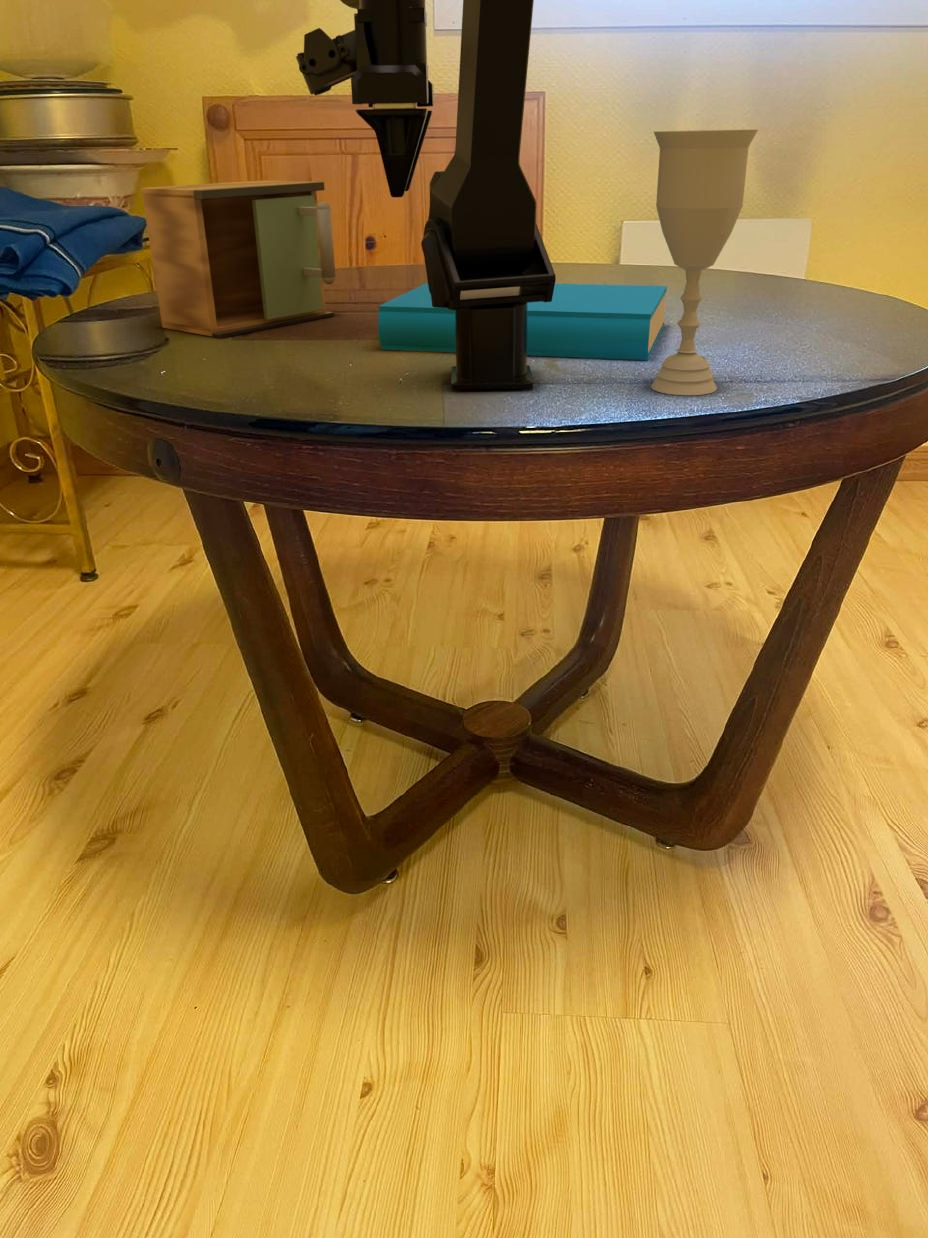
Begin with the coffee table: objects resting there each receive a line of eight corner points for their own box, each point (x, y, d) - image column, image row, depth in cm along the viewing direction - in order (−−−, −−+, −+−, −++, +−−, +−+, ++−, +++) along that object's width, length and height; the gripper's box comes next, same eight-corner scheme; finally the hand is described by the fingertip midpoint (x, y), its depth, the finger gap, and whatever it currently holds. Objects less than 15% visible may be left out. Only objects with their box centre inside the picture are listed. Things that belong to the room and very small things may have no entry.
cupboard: (334, 315, 108) (324, 181, 102) (220, 338, 98) (201, 190, 92) (276, 307, 114) (263, 179, 108) (162, 327, 103) (141, 187, 97)
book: (428, 280, 104) (667, 281, 98) (430, 322, 106) (664, 325, 100) (375, 306, 89) (652, 310, 83) (378, 354, 91) (650, 361, 85)
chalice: (747, 386, 76) (776, 129, 68) (701, 403, 72) (727, 130, 64) (667, 372, 81) (685, 130, 73) (619, 388, 76) (633, 131, 68)
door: (349, 313, 105) (341, 195, 100) (294, 324, 99) (283, 200, 94) (319, 309, 108) (310, 194, 102) (264, 319, 102) (251, 199, 97)
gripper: (314, 10, 93) (327, 189, 100) (280, -16, 76) (299, 202, 83) (431, 8, 93) (436, 187, 100) (423, -18, 76) (429, 200, 83)
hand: (400, 193), depth 91 cm, fingers open, 9 cm apart
